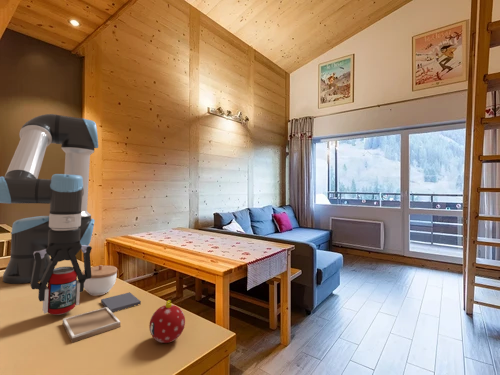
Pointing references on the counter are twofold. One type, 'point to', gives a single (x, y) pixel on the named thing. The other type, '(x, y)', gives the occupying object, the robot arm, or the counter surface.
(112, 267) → the lidded jar
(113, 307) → the pad
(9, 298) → the counter surface
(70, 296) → the beverage can
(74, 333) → the board
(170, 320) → the christmas ornament
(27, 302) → the counter surface
